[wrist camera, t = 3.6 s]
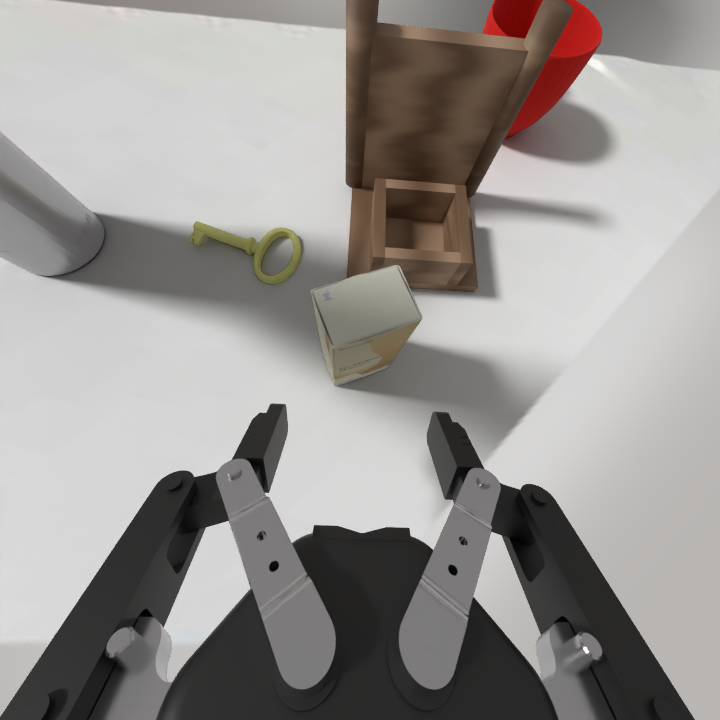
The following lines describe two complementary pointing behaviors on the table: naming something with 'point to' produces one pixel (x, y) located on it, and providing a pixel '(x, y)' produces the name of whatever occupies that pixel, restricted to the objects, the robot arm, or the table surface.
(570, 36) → the ceramic cup
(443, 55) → the headboard stand
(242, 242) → the key
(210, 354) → the table surface
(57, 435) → the table surface
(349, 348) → the skincare box
